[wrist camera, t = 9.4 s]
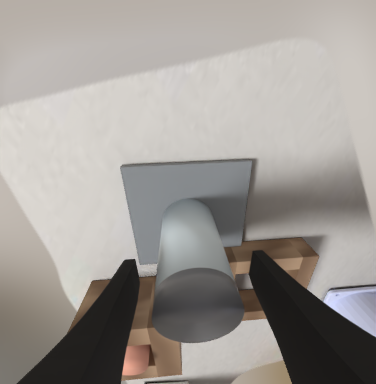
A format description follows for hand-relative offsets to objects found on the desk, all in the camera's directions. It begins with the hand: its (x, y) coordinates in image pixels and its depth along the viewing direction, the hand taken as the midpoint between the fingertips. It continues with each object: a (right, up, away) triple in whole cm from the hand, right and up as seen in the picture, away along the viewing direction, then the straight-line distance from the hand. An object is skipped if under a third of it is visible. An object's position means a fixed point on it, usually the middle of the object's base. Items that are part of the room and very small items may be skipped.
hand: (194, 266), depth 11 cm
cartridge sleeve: (+7, -4, +9) cm, 12 cm away
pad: (0, +3, +5) cm, 6 cm away
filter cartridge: (0, +2, +5) cm, 5 cm away
